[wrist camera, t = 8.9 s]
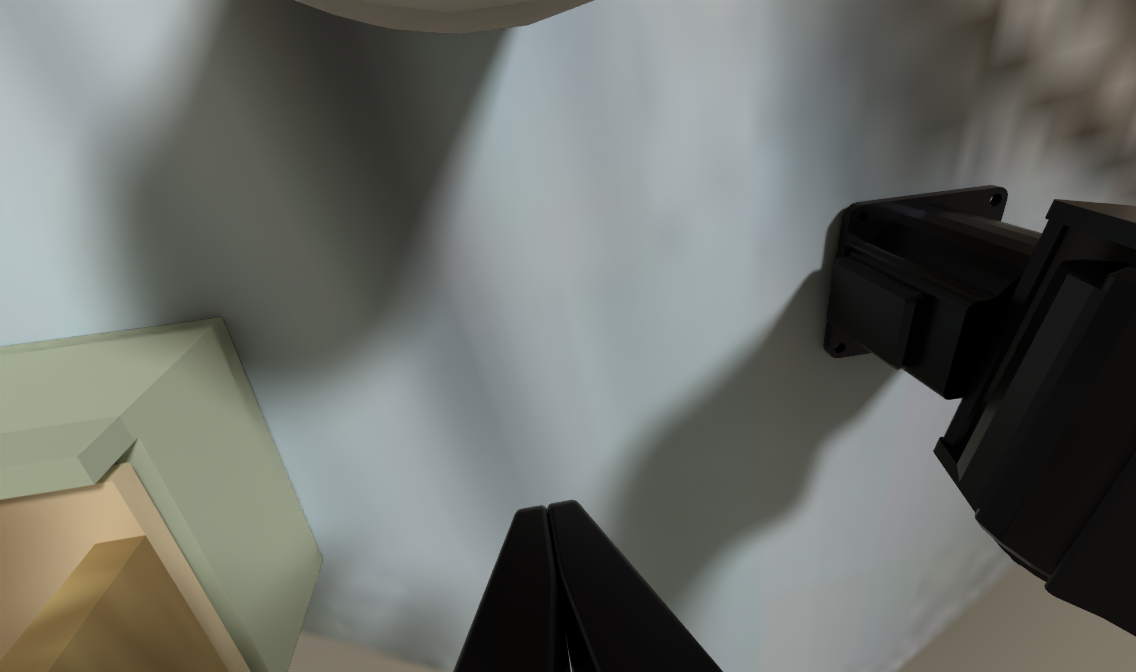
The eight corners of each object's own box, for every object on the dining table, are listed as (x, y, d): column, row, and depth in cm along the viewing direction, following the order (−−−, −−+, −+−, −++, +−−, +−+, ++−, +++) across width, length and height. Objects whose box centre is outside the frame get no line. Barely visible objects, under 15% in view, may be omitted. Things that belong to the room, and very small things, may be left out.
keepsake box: (222, 317, 19) (77, 457, 12) (323, 559, 24) (262, 750, 17) (-98, 360, 18) (-455, 539, 11) (82, 602, 23) (-81, 822, 16)
